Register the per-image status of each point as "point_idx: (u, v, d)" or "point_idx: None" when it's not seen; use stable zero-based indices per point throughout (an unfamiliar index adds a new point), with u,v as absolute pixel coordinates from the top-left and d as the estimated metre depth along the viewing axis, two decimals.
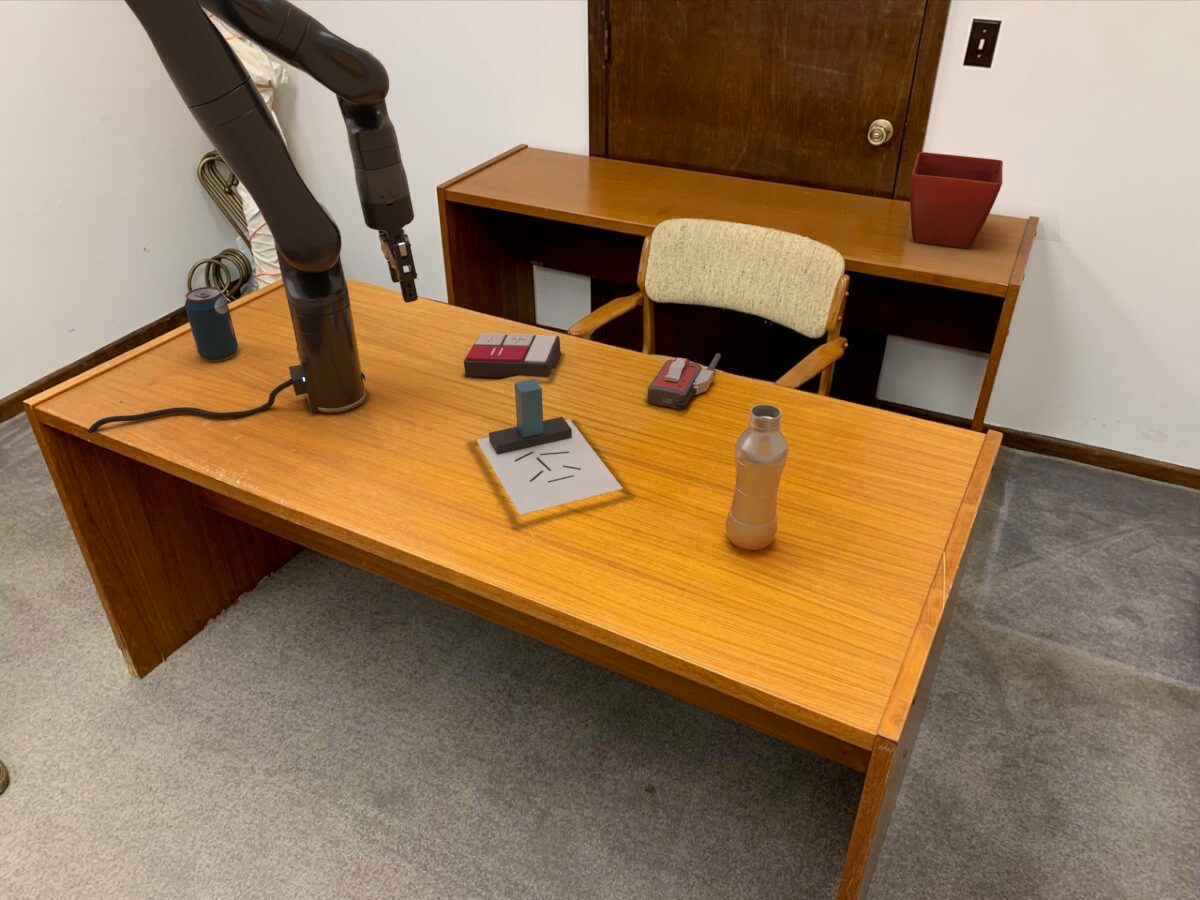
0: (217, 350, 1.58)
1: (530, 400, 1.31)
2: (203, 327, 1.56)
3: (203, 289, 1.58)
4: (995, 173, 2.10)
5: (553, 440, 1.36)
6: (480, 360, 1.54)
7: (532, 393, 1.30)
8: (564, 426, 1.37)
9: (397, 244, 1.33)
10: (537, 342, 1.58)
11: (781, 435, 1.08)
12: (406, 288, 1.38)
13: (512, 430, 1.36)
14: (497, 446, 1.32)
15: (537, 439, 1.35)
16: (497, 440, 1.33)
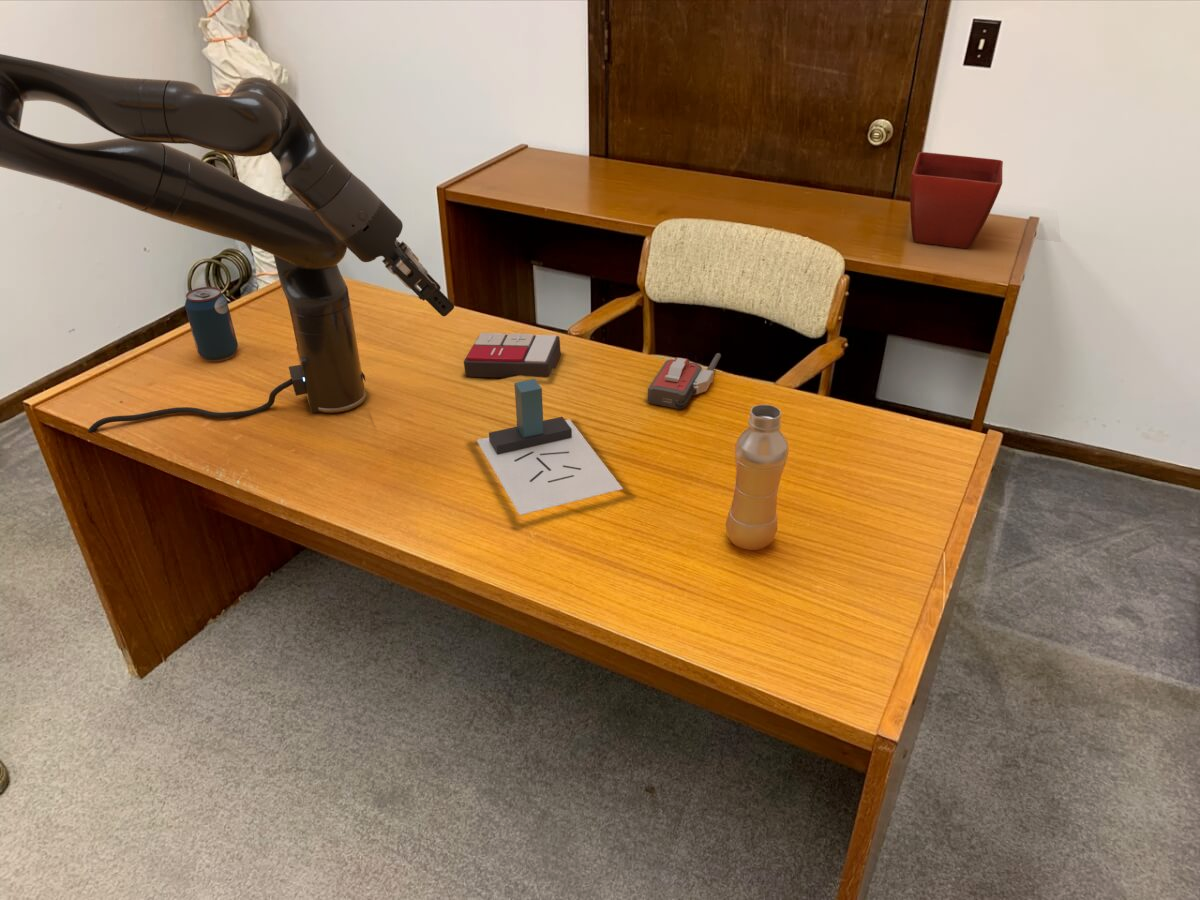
0: (217, 350, 1.58)
1: (530, 400, 1.31)
2: (203, 327, 1.56)
3: (203, 289, 1.58)
4: (995, 173, 2.10)
5: (553, 440, 1.36)
6: (480, 360, 1.54)
7: (532, 393, 1.30)
8: (564, 426, 1.37)
9: (395, 266, 1.14)
10: (537, 342, 1.58)
11: (781, 435, 1.08)
12: (435, 303, 1.19)
13: (512, 430, 1.36)
14: (497, 446, 1.32)
15: (537, 439, 1.35)
16: (497, 440, 1.33)
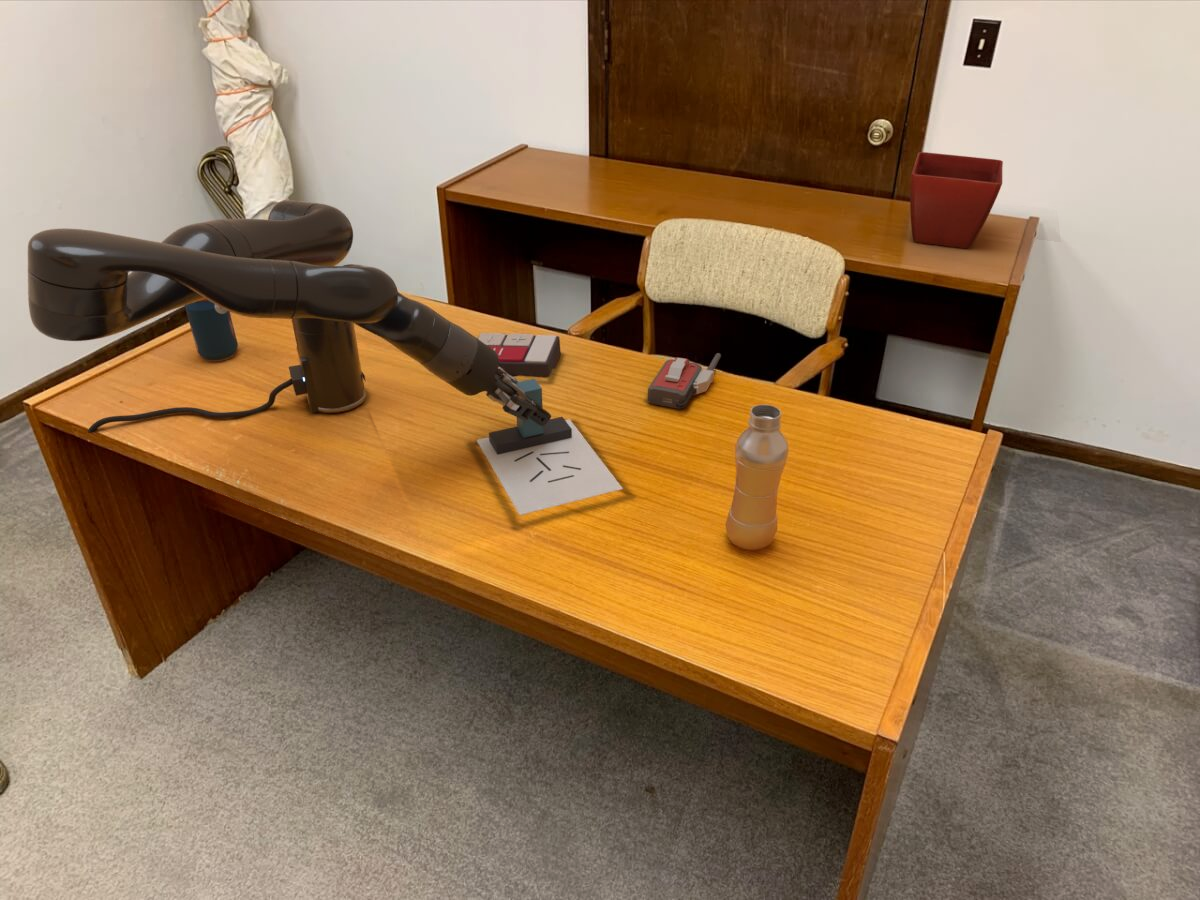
0: (217, 350, 1.58)
1: None
2: (203, 327, 1.56)
3: None
4: (995, 173, 2.10)
5: (553, 440, 1.36)
6: None
7: (532, 393, 1.30)
8: (564, 426, 1.37)
9: (507, 407, 1.24)
10: (537, 342, 1.58)
11: (781, 435, 1.08)
12: (535, 417, 1.31)
13: (512, 430, 1.36)
14: (497, 446, 1.32)
15: (537, 439, 1.35)
16: (497, 440, 1.33)
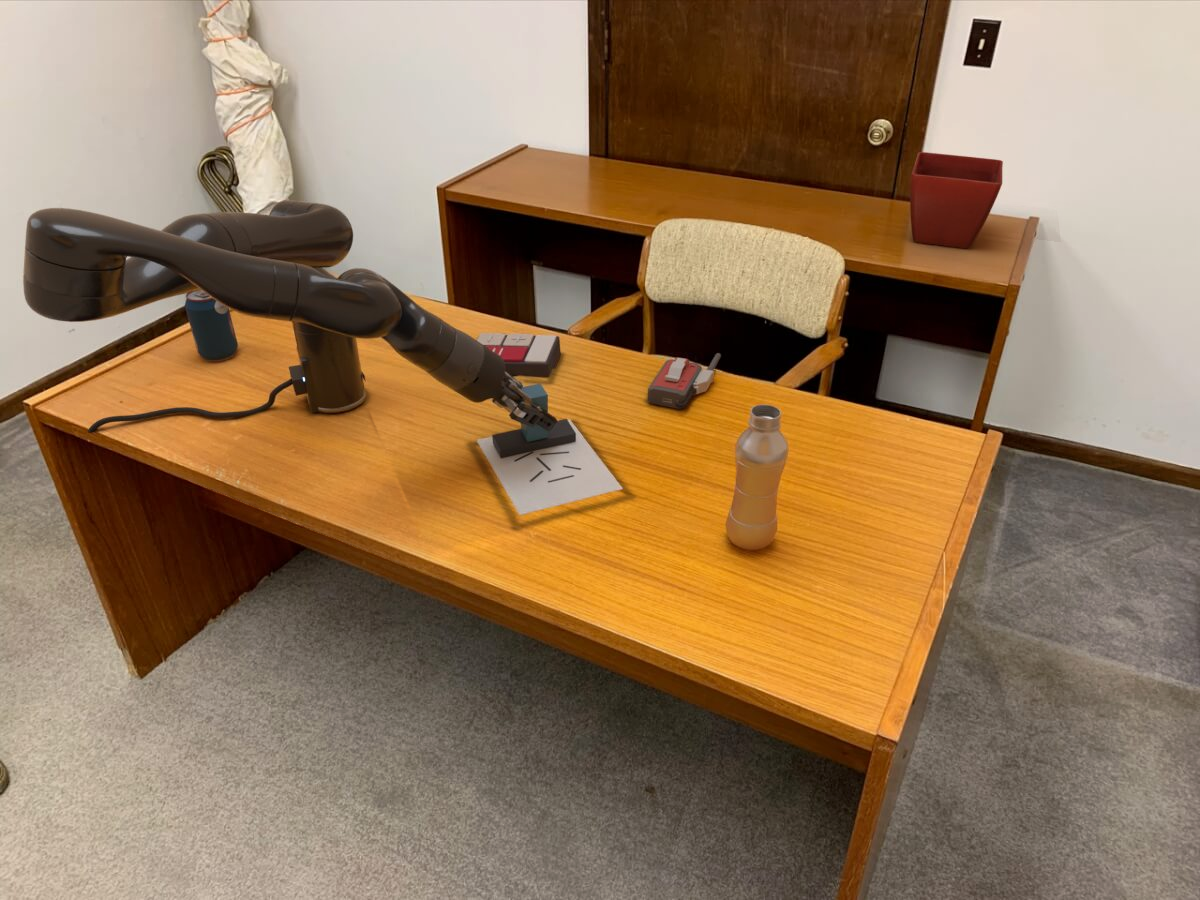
0: (217, 350, 1.58)
1: None
2: (203, 327, 1.56)
3: None
4: (995, 173, 2.10)
5: (557, 444, 1.35)
6: None
7: (537, 399, 1.29)
8: (568, 430, 1.36)
9: (514, 415, 1.23)
10: (537, 342, 1.58)
11: (781, 435, 1.08)
12: (541, 423, 1.30)
13: (516, 432, 1.35)
14: (501, 450, 1.31)
15: (541, 443, 1.34)
16: (501, 444, 1.32)
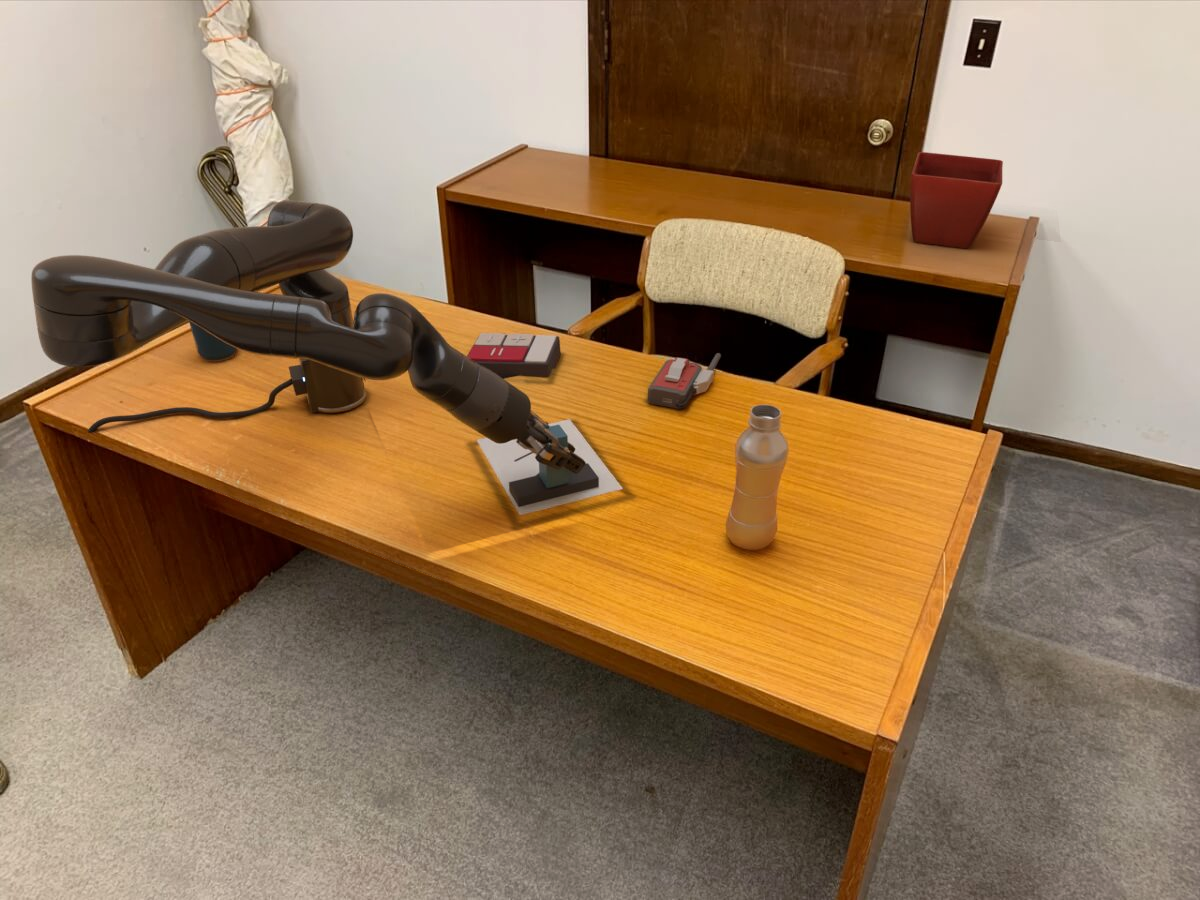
0: (217, 350, 1.58)
1: None
2: None
3: None
4: (995, 173, 2.10)
5: (579, 490, 1.25)
6: (480, 360, 1.54)
7: None
8: (590, 475, 1.26)
9: (540, 457, 1.14)
10: (537, 342, 1.58)
11: (781, 435, 1.08)
12: (568, 465, 1.21)
13: (534, 479, 1.25)
14: (519, 498, 1.22)
15: (562, 489, 1.24)
16: (518, 491, 1.23)
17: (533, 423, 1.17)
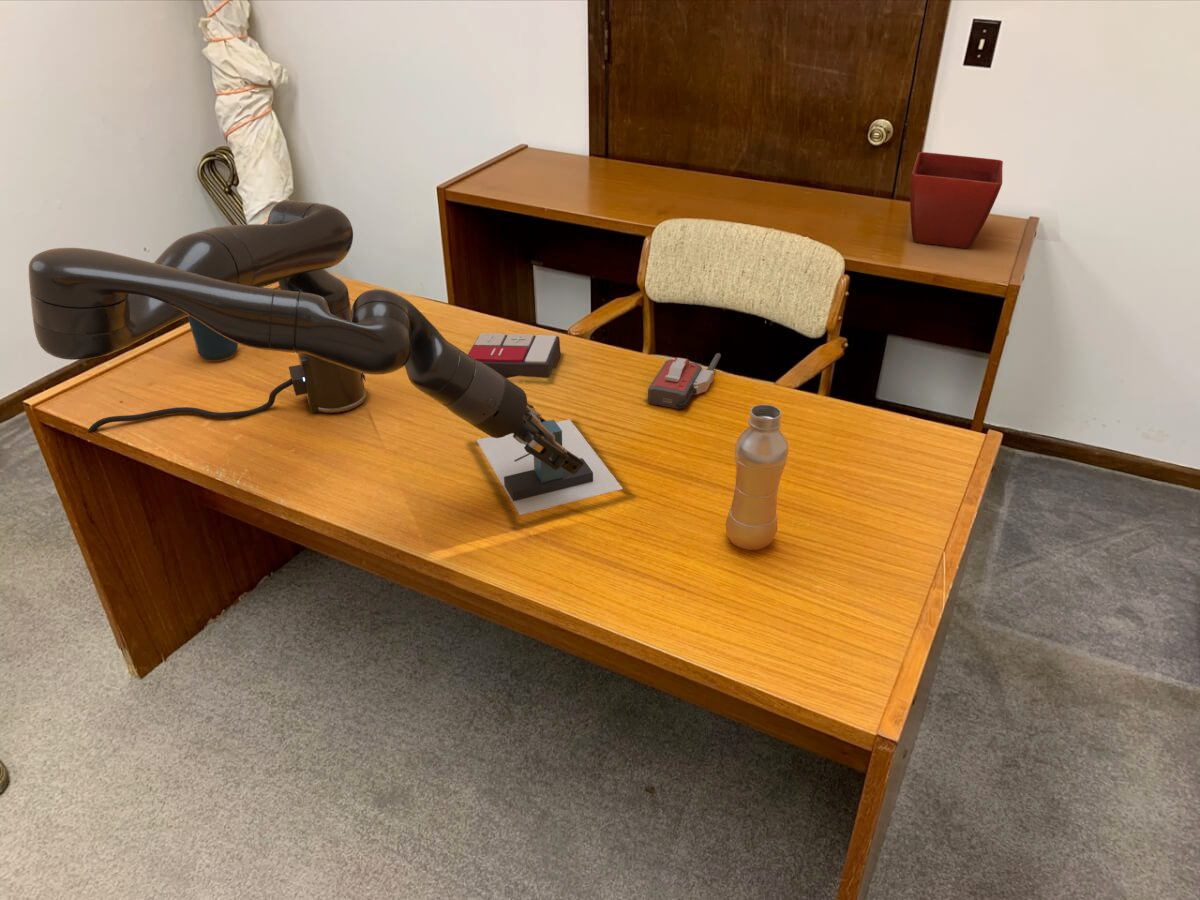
0: (217, 350, 1.58)
1: None
2: (203, 327, 1.56)
3: None
4: (995, 173, 2.10)
5: (573, 484, 1.26)
6: (480, 360, 1.54)
7: None
8: (585, 469, 1.27)
9: (528, 446, 1.14)
10: (537, 342, 1.58)
11: (781, 435, 1.08)
12: (566, 465, 1.20)
13: (529, 474, 1.26)
14: (513, 492, 1.23)
15: (556, 484, 1.25)
16: (513, 486, 1.24)
17: (529, 418, 1.18)
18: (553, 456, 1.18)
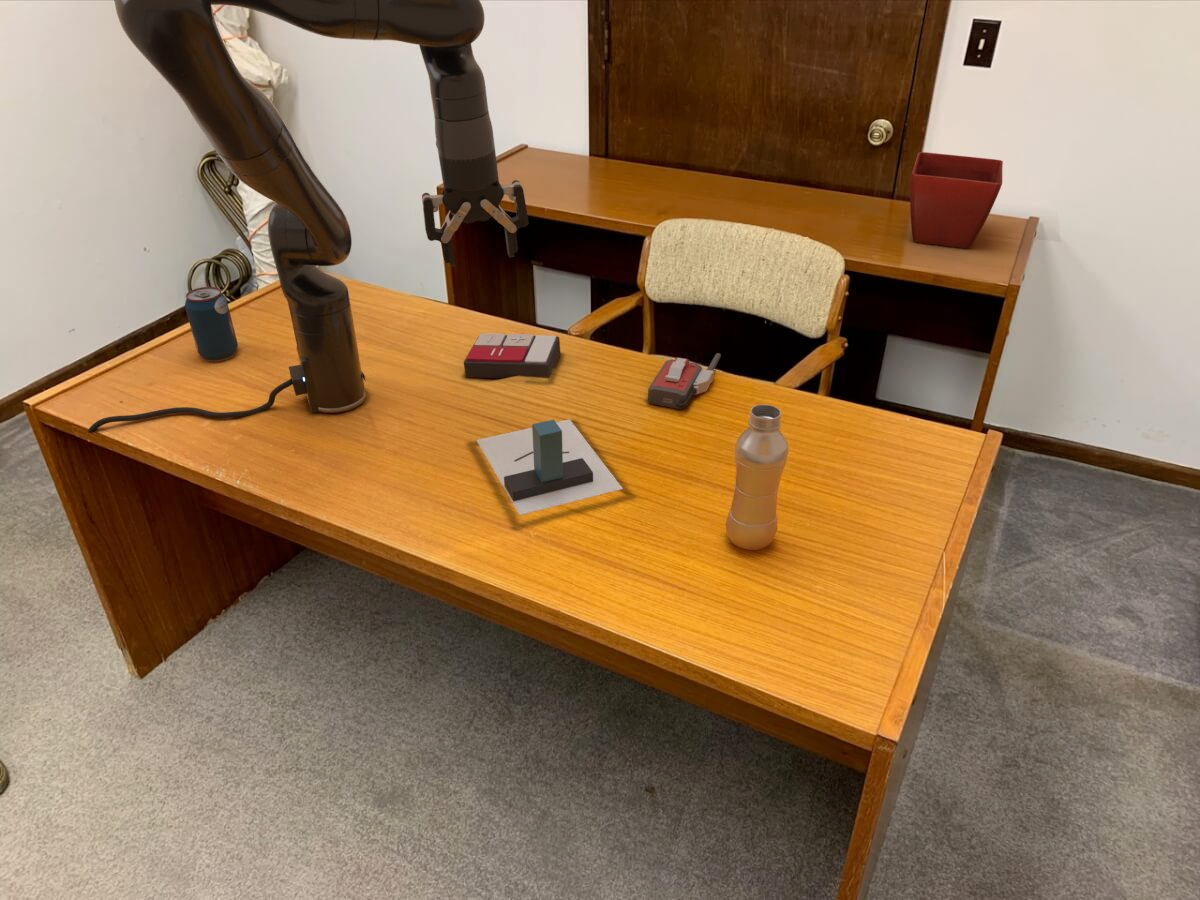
0: (217, 350, 1.58)
1: (549, 444, 1.21)
2: (203, 327, 1.56)
3: (203, 289, 1.58)
4: (995, 173, 2.10)
5: (573, 484, 1.26)
6: (480, 361, 1.54)
7: (551, 436, 1.21)
8: (585, 469, 1.27)
9: (519, 185, 1.22)
10: (537, 342, 1.58)
11: (781, 435, 1.08)
12: (516, 238, 1.27)
13: (529, 474, 1.26)
14: (513, 492, 1.23)
15: (556, 484, 1.25)
16: (513, 486, 1.24)
17: None
18: (513, 220, 1.26)
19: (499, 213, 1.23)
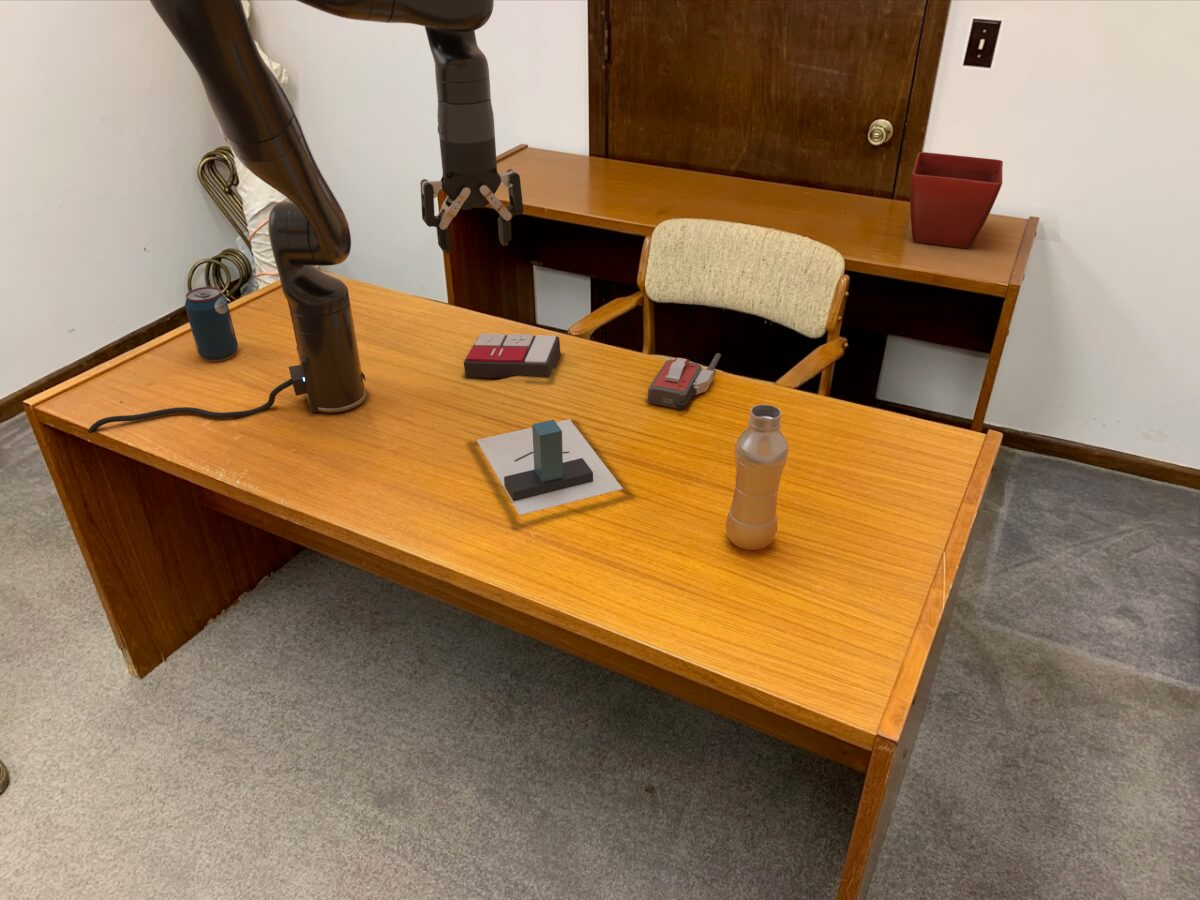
0: (217, 350, 1.58)
1: (549, 444, 1.21)
2: (203, 327, 1.56)
3: (203, 289, 1.58)
4: (995, 173, 2.10)
5: (573, 484, 1.26)
6: (480, 361, 1.54)
7: (551, 436, 1.21)
8: (585, 469, 1.27)
9: None
10: (537, 342, 1.58)
11: (781, 435, 1.08)
12: (510, 226, 1.30)
13: (529, 474, 1.26)
14: (513, 492, 1.23)
15: (556, 484, 1.25)
16: (513, 486, 1.24)
17: None
18: (508, 209, 1.28)
19: (496, 200, 1.26)
